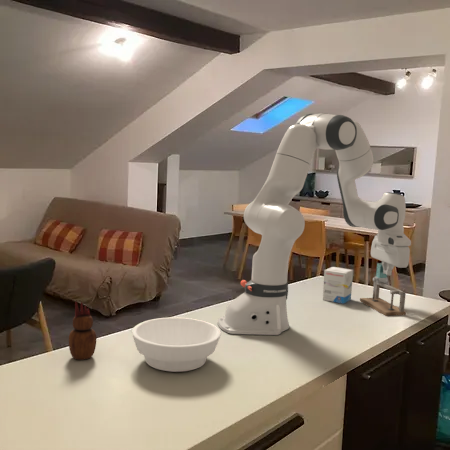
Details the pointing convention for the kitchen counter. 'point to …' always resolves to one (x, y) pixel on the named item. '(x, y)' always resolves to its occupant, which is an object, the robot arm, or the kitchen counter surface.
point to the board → (383, 305)
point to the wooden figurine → (82, 334)
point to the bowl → (176, 342)
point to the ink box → (337, 284)
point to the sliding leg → (379, 277)
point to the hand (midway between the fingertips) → (387, 274)
